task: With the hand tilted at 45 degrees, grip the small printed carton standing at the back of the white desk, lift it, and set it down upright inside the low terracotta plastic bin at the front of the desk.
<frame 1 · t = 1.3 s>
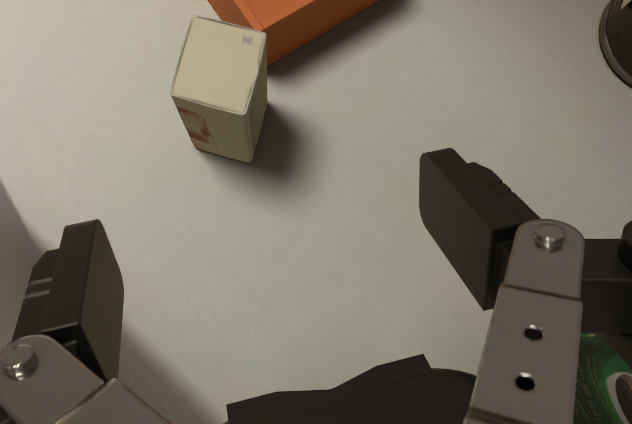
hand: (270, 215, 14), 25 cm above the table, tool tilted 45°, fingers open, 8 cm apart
coffee jar: (582, 367, 39), on the table
small printed carton: (230, 126, 40), on the table
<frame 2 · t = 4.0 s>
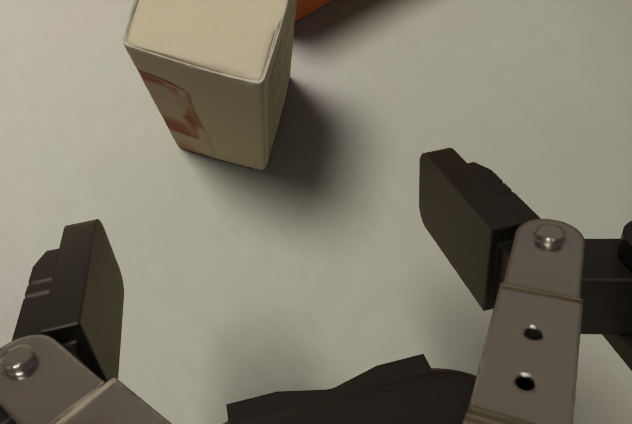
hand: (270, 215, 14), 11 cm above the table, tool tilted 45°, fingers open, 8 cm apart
small printed carton: (233, 114, 26), on the table
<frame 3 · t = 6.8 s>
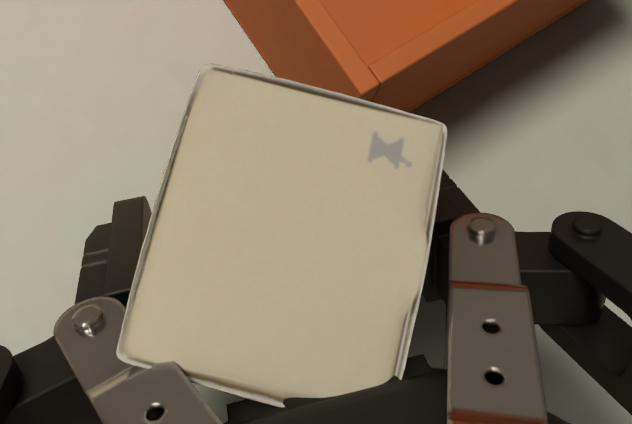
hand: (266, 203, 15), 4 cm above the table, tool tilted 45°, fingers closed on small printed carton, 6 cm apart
small printed carton: (276, 282, 19), on the table, touching gripper
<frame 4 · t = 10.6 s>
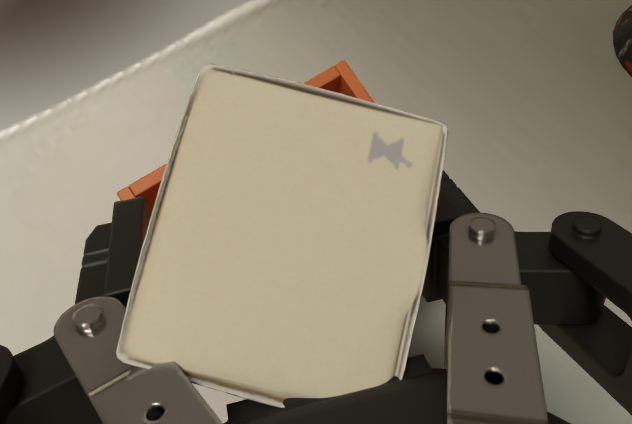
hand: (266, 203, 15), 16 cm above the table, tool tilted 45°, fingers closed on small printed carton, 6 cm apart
bin: (289, 234, 31), on the table
small printed carton: (276, 282, 19), point 12 cm above the table, touching gripper
when the fingers open (5 cm above the table, at t = 14.6 s): small printed carton stays where it is, resting on bin.
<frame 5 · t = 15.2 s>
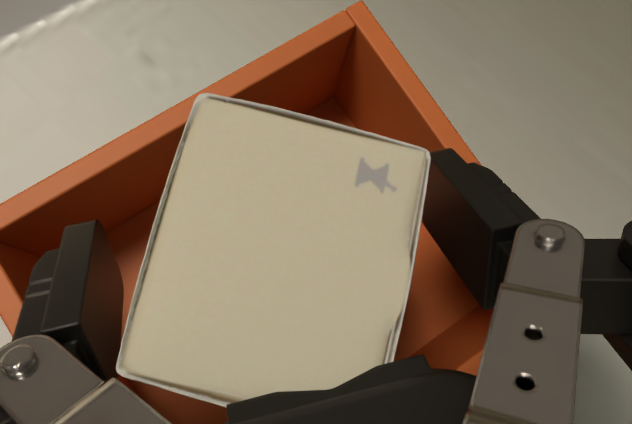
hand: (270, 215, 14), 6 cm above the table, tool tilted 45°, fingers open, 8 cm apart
bin: (273, 285, 20), on the table
small printed carton: (271, 291, 19), resting on bin
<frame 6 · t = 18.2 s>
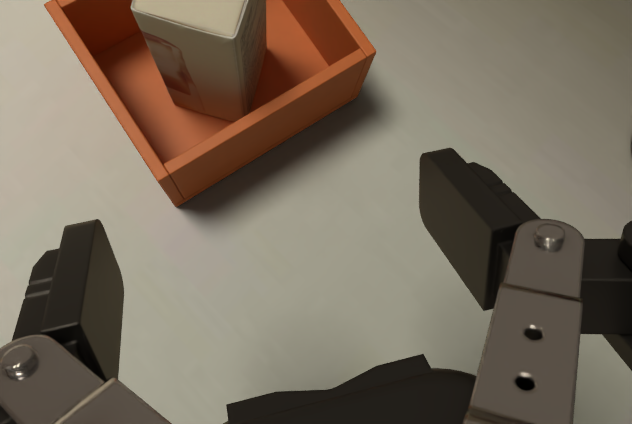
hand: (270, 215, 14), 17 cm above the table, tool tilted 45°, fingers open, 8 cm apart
bin: (221, 78, 32), on the table
small printed carton: (219, 79, 32), resting on bin
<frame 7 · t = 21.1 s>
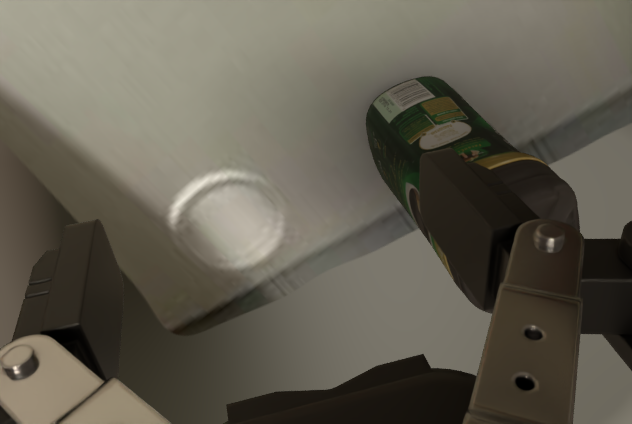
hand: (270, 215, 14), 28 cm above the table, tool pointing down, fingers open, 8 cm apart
coffee jar: (411, 128, 47), on the table
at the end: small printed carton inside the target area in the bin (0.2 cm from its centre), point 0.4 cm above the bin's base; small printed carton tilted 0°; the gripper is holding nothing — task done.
